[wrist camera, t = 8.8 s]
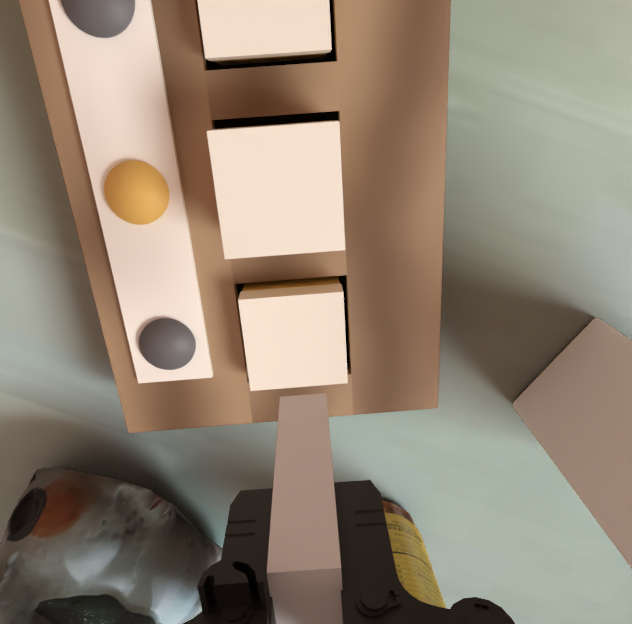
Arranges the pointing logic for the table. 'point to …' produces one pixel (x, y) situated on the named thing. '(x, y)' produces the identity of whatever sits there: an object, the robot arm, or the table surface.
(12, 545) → the lucky cat figurine
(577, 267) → the table surface
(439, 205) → the button board
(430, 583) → the sauce bottle
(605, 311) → the table surface
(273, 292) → the far button
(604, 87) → the table surface
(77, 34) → the push button panel
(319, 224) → the middle button
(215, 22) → the yellow white square block
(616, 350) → the milk carton
